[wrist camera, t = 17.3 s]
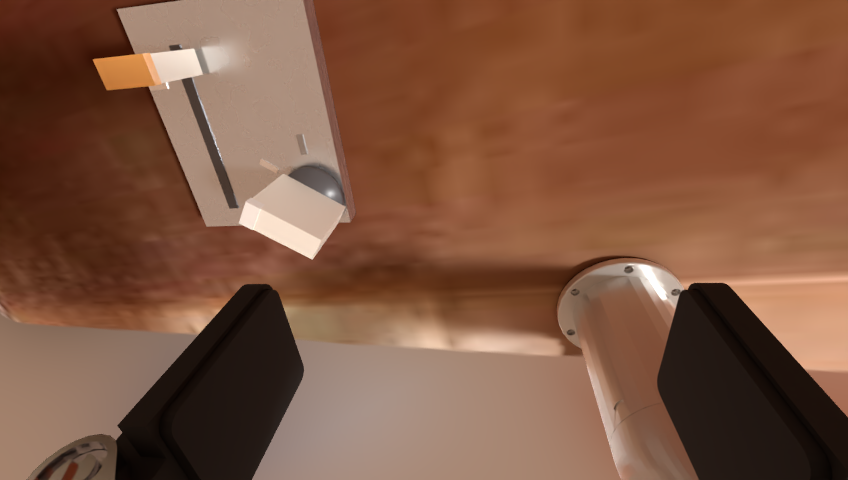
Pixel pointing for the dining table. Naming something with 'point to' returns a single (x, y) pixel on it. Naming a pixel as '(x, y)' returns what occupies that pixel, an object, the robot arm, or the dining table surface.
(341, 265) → the dining table surface
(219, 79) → the console
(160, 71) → the fader tab
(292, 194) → the dial
